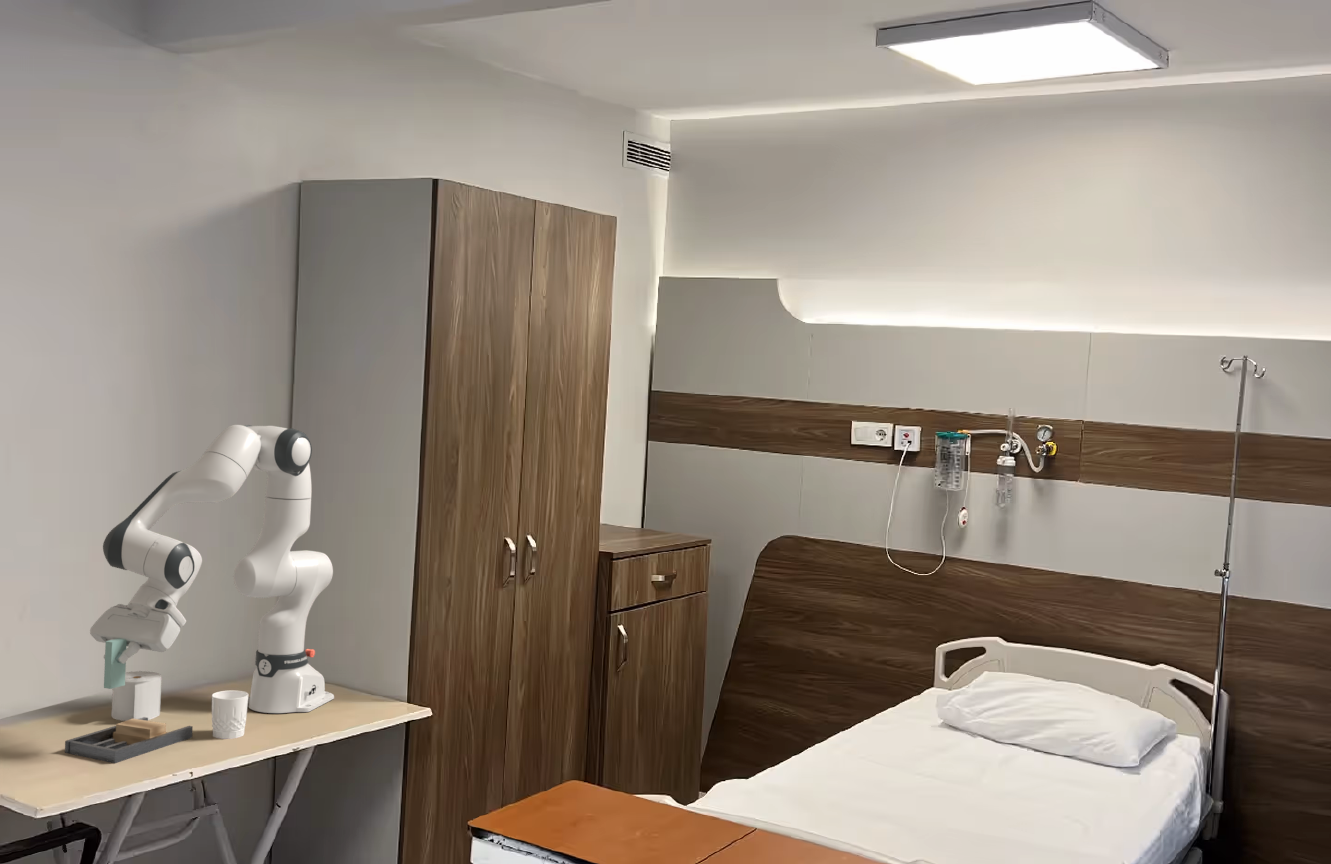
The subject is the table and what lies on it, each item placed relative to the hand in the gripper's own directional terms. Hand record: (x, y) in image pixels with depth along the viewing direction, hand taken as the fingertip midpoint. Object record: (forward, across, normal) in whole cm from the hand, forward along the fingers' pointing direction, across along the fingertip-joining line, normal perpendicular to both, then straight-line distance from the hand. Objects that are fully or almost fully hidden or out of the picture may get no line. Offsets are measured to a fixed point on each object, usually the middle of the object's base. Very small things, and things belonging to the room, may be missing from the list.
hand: (113, 660), depth 261 cm
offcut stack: (+8, 0, +20) cm, 21 cm away
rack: (+10, 0, +18) cm, 21 cm away
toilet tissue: (-2, -16, +31) cm, 35 cm away
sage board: (+4, 0, +4) cm, 6 cm away
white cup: (-2, +12, +31) cm, 33 cm away
